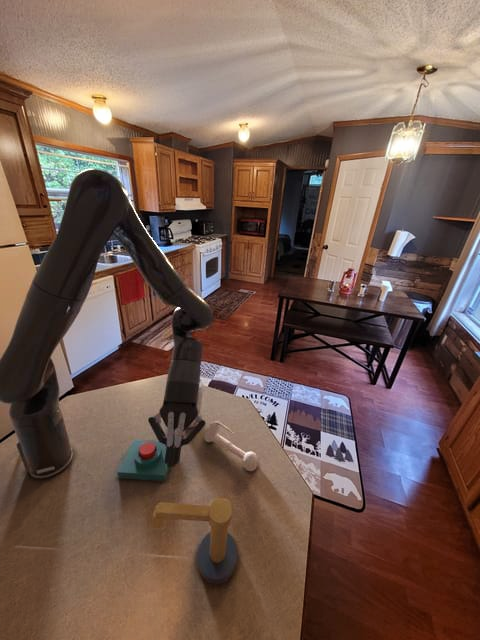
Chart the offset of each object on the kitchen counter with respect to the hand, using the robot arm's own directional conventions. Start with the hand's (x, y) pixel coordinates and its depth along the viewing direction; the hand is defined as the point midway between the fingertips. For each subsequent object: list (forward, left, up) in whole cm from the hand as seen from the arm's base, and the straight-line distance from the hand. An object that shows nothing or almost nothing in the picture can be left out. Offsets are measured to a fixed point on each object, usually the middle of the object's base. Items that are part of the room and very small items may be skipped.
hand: (171, 466), depth 52 cm
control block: (-10, +12, -15) cm, 22 cm away
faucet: (+12, +17, -16) cm, 26 cm away
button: (-10, +12, -12) cm, 20 cm away
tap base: (+11, -8, -15) cm, 20 cm away
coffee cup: (-2, +28, -16) cm, 32 cm away
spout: (+6, -8, -4) cm, 11 cm away
